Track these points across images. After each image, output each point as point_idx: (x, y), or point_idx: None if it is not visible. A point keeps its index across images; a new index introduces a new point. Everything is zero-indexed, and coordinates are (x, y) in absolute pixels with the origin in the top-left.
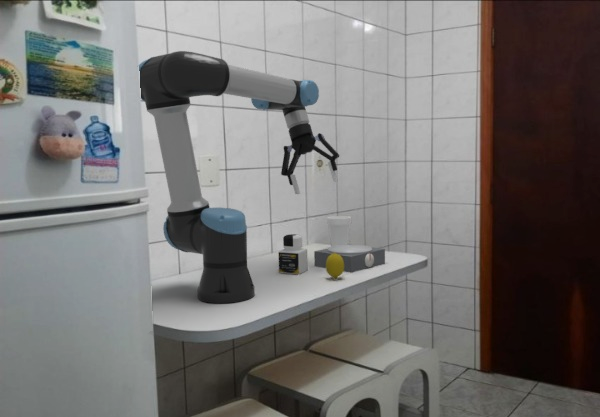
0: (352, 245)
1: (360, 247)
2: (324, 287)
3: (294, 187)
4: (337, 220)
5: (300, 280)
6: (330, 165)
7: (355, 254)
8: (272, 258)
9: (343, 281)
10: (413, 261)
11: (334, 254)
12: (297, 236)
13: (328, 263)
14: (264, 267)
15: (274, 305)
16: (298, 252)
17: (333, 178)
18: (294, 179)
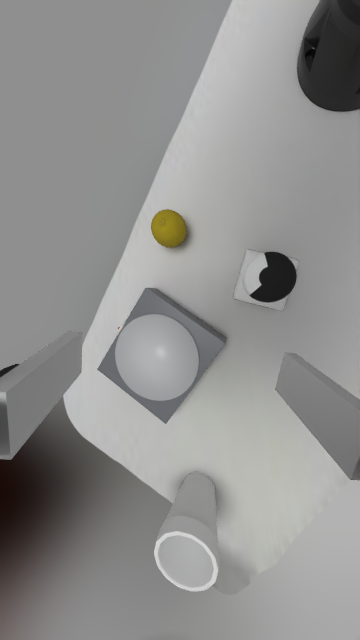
0: (153, 391)
1: (136, 367)
2: (184, 170)
3: (310, 368)
4: (186, 528)
5: (233, 212)
6: (15, 370)
7: (140, 311)
8: None
9: None
10: None
11: (162, 217)
12: (253, 264)
13: (177, 213)
14: (332, 317)
15: (245, 25)
16: (246, 252)
17: (70, 336)
18: (332, 413)
